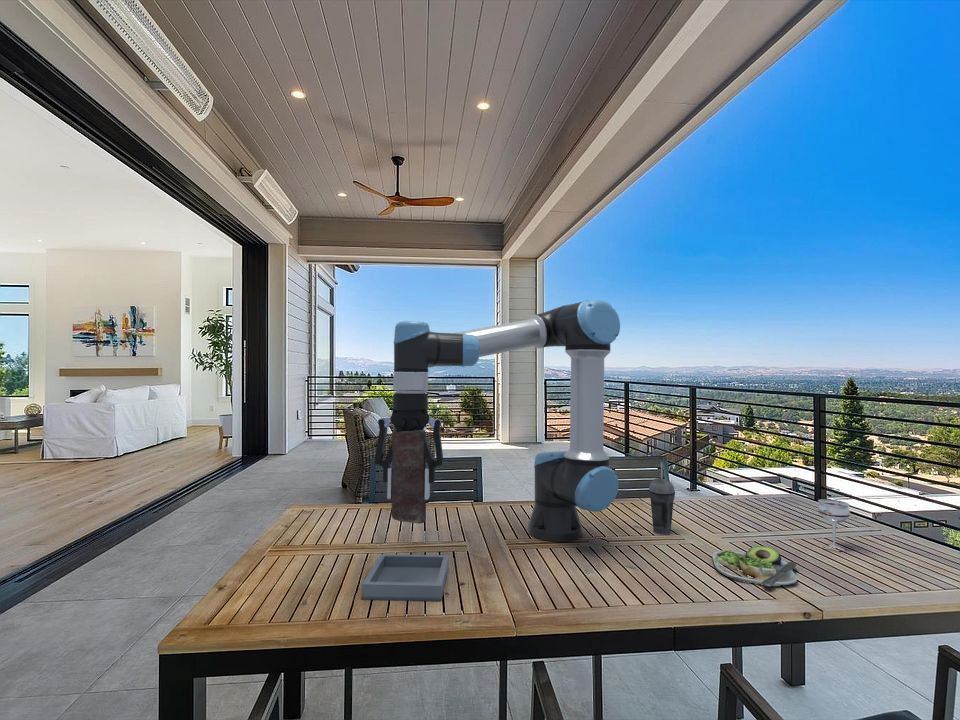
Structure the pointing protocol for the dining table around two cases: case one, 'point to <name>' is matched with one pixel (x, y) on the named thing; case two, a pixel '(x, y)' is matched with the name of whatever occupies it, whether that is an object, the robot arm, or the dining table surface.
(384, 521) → the dining table surface
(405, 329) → the robot arm
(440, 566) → the tray
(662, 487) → the beverage cup
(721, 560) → the salad plate
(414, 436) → the brown rough cylinder
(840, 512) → the wineglass
